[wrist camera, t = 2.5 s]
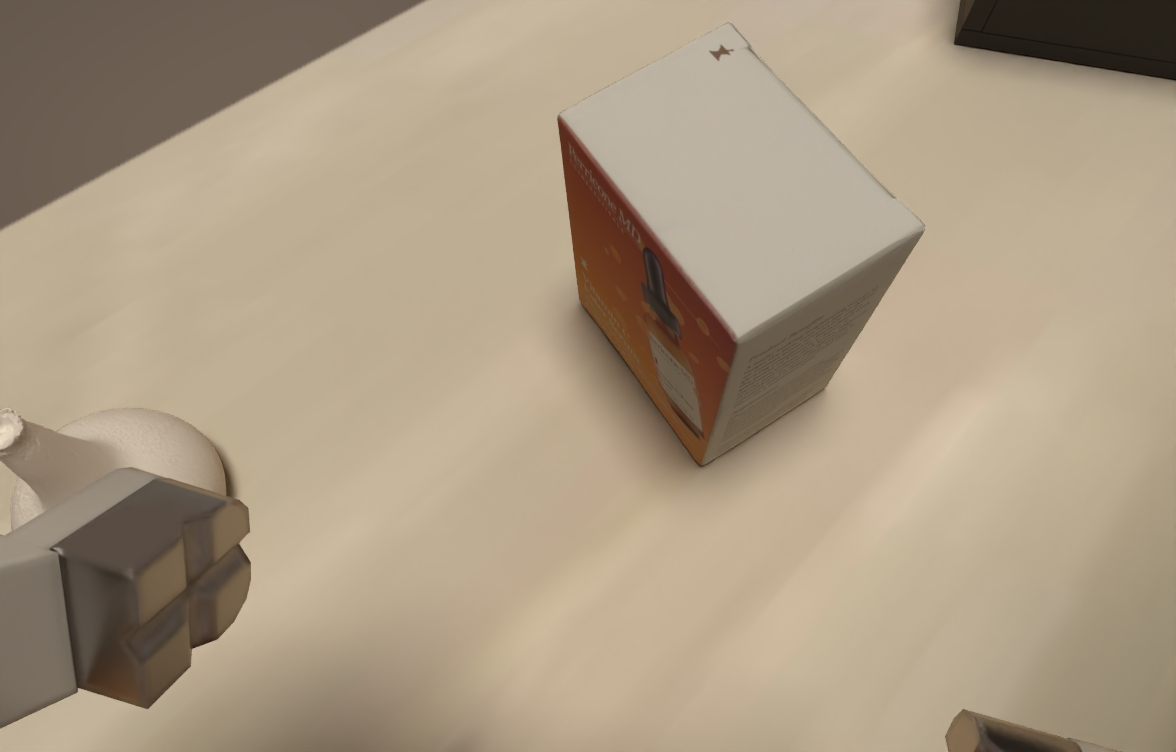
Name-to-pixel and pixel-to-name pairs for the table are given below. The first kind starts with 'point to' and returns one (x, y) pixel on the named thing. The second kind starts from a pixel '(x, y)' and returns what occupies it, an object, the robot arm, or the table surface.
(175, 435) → the garlic bulb
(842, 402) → the table surface
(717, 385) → the small box
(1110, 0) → the trash bin
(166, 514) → the robot arm
